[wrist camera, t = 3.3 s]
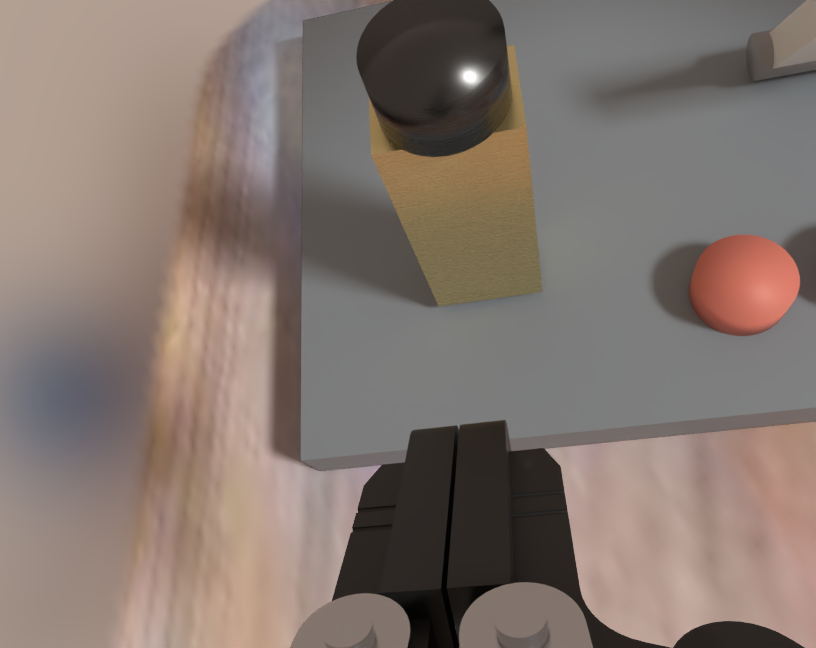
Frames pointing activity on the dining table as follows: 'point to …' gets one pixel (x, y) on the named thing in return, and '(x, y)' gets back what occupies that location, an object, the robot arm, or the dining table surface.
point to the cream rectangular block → (784, 46)
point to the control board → (575, 243)
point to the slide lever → (453, 145)
